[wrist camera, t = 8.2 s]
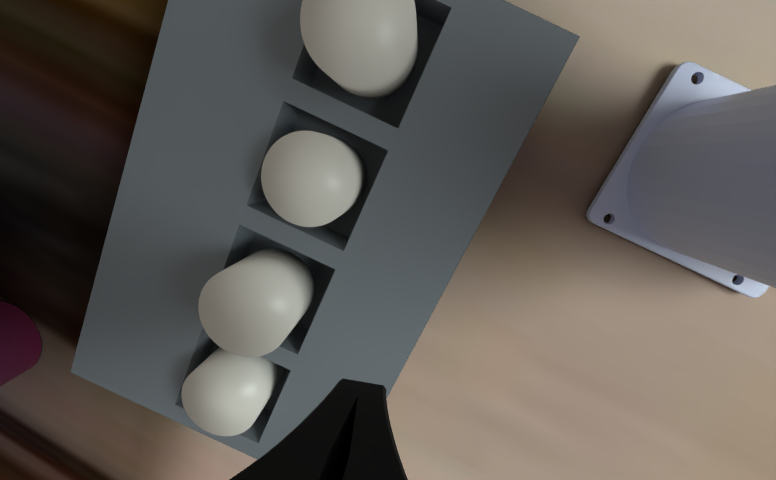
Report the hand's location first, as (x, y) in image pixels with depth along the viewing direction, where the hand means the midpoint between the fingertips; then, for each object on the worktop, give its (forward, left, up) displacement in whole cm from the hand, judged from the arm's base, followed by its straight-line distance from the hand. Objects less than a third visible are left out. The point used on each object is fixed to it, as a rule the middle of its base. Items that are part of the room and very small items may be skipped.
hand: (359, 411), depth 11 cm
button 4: (+6, +7, -9) cm, 13 cm away
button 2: (+5, -4, -9) cm, 12 cm away
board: (+6, -2, -10) cm, 12 cm away
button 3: (+5, +2, -8) cm, 10 cm away
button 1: (+5, -10, -8) cm, 14 cm away
